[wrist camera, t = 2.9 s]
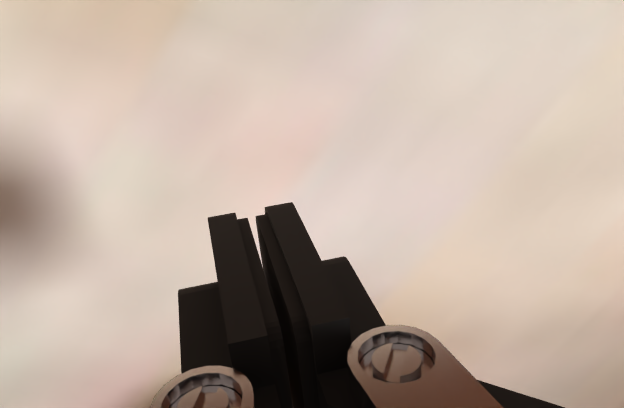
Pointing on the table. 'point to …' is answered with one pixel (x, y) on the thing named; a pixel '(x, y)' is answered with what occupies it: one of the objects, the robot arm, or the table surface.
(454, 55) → the table surface
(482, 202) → the table surface
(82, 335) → the table surface
